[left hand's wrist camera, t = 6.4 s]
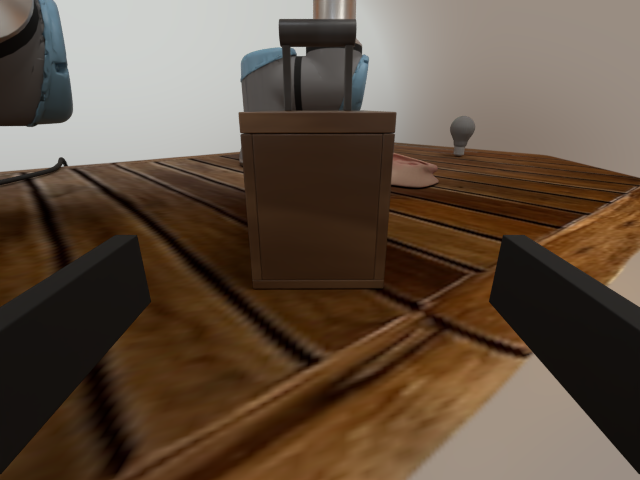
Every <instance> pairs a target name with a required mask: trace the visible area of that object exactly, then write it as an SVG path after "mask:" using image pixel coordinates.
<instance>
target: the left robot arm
mask: <svg viewBox="0 0 640 480" xmlns="http://www.w3.org/2000/svg"><path fill="white" fill-rule="evenodd" d="M72 112H73V102H72V93H71V85H70V78H69V72H68V69H67V59H66V51H65V44H64V38H63V33H62V27H61V22H60V17H59V12H58V8H57V5H56V3H55V2H54V1H53V0H0V126H27V127H33V126H36V125H37V124H52V123H62V122H65V121H67V120H68V119H69V118H70V117H71V115H72ZM62 164H63V165H64V166H68V165H67V163H66V161H65V159H64V158H62V157H61V158H59V160H58V163H57V164H56V165H55V166H54V167H52V168H49V169H46V170H43V171H38V172H34V173H30V174H25V175H21V176H16V177H12V178H7V179H3V180H0V185H3V184H8V183H12V182H16V181H20V180H24V179H28V178H33V177H37V176H41V175H45V174H48V173H51V172H54V171H56V170H58V169H59V168H60V167H61V166H62ZM150 302H151V299H150V295H149V290H148V285H147V280H146V276H145V271H144V266H143V261H142V257H141V252H140V247H139V242H138V238H137V235H115V236H113V237H112V238H110V239H109V240H107V241H105V242H104V243H102V244H101V245H99V246H97V247H96V248H94V249H93V250H91V251H89V252H88V253H86V254H85V255H83V256H81V257H80V258H78V259H77V260H75V261H73V262H72V263H70V264H69V265H67V266H65V267H64V268H62V269H61V270H59V271H57V272H56V273H54V274H53V275H51V276H49V277H48V278H46V279H45V280H43V281H41V282H40V283H38V284H37V285H35V286H33V287H32V288H30V289H29V290H27V291H25V292H24V293H22V294H21V295H19V296H17V297H16V298H14V299H13V300H11V301H10V302H8V303H6V304H5V305H3V306H2V307H0V474H2V472H3V471H4V470H5V469H6V468H7V467H8V465H9V464H10V463H11V462H12V461H13V460H14V459H15V457H16V456H17V455H18V454H19V453H20V452H21V451H22V449H23V448H24V447H25V446H26V445H27V444H28V442H29V441H30V440H31V439H32V438H33V437H34V436H35V434H36V433H37V432H38V431H39V430H40V429H41V428H42V426H43V425H44V424H45V423H46V422H47V421H48V419H49V418H50V417H51V416H52V415H53V414H54V413H55V411H56V410H57V409H58V408H59V407H60V406H61V405H62V403H63V402H64V401H65V400H66V399H67V398H68V396H69V395H70V394H71V393H72V392H73V391H74V390H75V388H76V387H77V386H78V385H79V384H80V383H81V382H82V380H83V379H84V378H85V377H86V376H87V375H88V373H89V372H90V371H91V370H92V369H93V368H94V367H95V365H96V364H97V363H98V362H99V361H100V360H101V359H102V357H103V356H104V355H105V354H106V353H107V352H108V350H109V349H110V348H111V347H112V346H113V345H114V344H115V342H116V341H117V340H118V339H119V338H120V337H121V336H122V334H123V333H124V332H125V331H126V330H127V329H128V327H129V326H130V325H131V324H132V323H133V322H134V321H135V319H136V318H137V317H138V316H139V315H140V314H141V313H142V311H143V310H144V309H145V308H146V307H147V306H148V304H149V303H150ZM489 302H490V303H491V304H492V306H493V307H494V308H495V309H496V310H497V311H498V313H499V314H500V315H501V316H502V317H503V318H504V319H505V321H506V322H507V323H508V324H509V325H510V326H511V327H512V329H513V330H514V331H515V332H516V333H517V334H518V336H519V337H520V338H521V339H522V340H523V341H524V342H525V344H526V345H527V346H528V347H529V348H530V349H531V350H532V352H533V353H534V354H535V355H536V356H537V357H538V359H539V360H540V361H541V362H542V363H543V364H544V365H545V367H546V368H547V369H548V370H549V371H550V372H551V373H552V375H553V376H554V377H555V378H556V379H557V380H558V381H559V383H560V384H561V385H562V386H563V387H564V388H565V390H566V391H567V392H568V393H569V394H570V395H571V396H572V398H573V399H574V400H575V401H576V402H577V403H578V405H579V406H580V407H581V408H582V409H583V410H584V411H585V413H586V414H587V415H588V416H589V417H590V418H591V419H592V421H593V422H594V423H595V424H596V425H597V426H598V427H599V429H600V430H601V431H602V432H603V433H604V434H605V436H606V437H607V438H608V439H609V440H610V441H611V442H612V444H613V445H614V446H615V447H616V448H617V449H618V450H619V452H620V453H621V454H622V455H623V456H624V457H625V459H626V460H627V461H628V462H629V463H630V464H631V465H632V467H633V468H634V469H635V470H636V471H637V472H638V474H640V307H638V306H637V305H635V304H634V303H632V302H630V301H629V300H627V299H626V298H624V297H622V296H621V295H619V294H618V293H616V292H615V291H613V290H611V289H610V288H608V287H607V286H605V285H603V284H602V283H600V282H599V281H597V280H595V279H594V278H592V277H591V276H589V275H587V274H586V273H584V272H583V271H581V270H579V269H578V268H576V267H575V266H573V265H571V264H570V263H568V262H567V261H565V260H563V259H562V258H560V257H559V256H557V255H555V254H554V253H552V252H551V251H549V250H547V249H546V248H544V247H543V246H541V245H539V244H538V243H536V242H535V241H533V240H531V239H530V238H528V237H527V236H525V235H503V238H502V242H501V247H500V252H499V257H498V261H497V266H496V271H495V276H494V280H493V285H492V290H491V295H490V299H489Z"/></svg>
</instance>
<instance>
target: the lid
mask: <svg viewBox="0 0 640 480" xmlns="http://www.w3.org/2000/svg"><path fill="white" fill-rule="evenodd" d="M279 39H280V46H281V47H282V58H283V85H284V110H285V111H256V112H239V124H240V133H395V125H396V112H383V111H351V105H352V72H353V47H354V46H355V42H356V19H280V20H279ZM290 47H345V67H344V111H292V84H291V49H290Z"/></svg>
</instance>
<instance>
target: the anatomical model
mask: <svg viewBox="0 0 640 480" xmlns="http://www.w3.org/2000/svg"><path fill="white" fill-rule="evenodd" d="M437 168H438V167H437V166H436V165H433V164H430V163H426V162H424V161H421V160H417V159H413V158H410V157H406V156H403V155H399V154H395V153H393V165H392V178H391V185H396V186H404V187H426V186H430V185H434V184H436V183H438V182H439V181H438V179H436V178H435V177H434V176H433V173H434V172H436V171H437Z"/></svg>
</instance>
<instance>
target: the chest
mask: <svg viewBox="0 0 640 480" xmlns="http://www.w3.org/2000/svg"><path fill="white" fill-rule="evenodd" d="M394 138H395V134H393V133H243V134H241V147H242V159H243V171H244V183H245V195H246V208H247V220H248V232H249V244H250V256H251V268H252V279H253V289H326V288H383V284H384V271H385V258H386V245H387V231H388V218H389V205H390V192H391V178H392V165H393V152H394Z"/></svg>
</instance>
